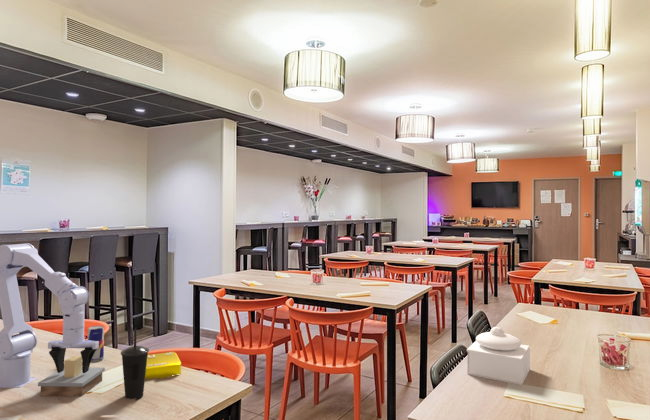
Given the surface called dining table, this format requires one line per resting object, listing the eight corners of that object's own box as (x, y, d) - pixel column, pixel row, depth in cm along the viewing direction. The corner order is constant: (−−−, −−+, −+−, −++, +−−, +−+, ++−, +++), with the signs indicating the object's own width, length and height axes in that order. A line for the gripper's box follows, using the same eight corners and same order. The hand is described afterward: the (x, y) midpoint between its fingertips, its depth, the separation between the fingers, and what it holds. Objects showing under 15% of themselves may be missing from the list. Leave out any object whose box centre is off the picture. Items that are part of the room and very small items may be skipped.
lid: (38, 386, 129) (38, 365, 129) (64, 370, 142) (64, 351, 142) (82, 386, 129) (82, 365, 129) (104, 370, 142) (104, 352, 142)
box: (40, 397, 129) (40, 385, 129) (64, 381, 141) (64, 370, 141) (81, 397, 129) (81, 385, 129) (102, 382, 141) (102, 371, 141)
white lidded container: (529, 370, 157) (530, 325, 157) (521, 386, 142) (522, 337, 142) (479, 360, 167) (479, 318, 167) (466, 375, 151) (466, 328, 152)
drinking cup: (153, 393, 132) (154, 327, 133) (135, 404, 125) (136, 333, 125) (133, 390, 135) (134, 324, 135) (114, 400, 128) (115, 331, 128)
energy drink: (96, 363, 159) (97, 329, 159) (83, 361, 160) (84, 328, 160) (106, 358, 164) (107, 326, 164) (94, 357, 165) (94, 325, 165)
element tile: (133, 383, 141) (133, 368, 141) (130, 369, 154) (130, 355, 155) (182, 376, 148) (182, 362, 148) (175, 362, 161) (175, 349, 161)
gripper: (41, 330, 131) (41, 376, 131) (90, 331, 131) (89, 376, 131) (56, 324, 138) (55, 368, 138) (102, 325, 138) (101, 368, 138)
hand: (73, 371), depth 135 cm, fingers open, 7 cm apart
